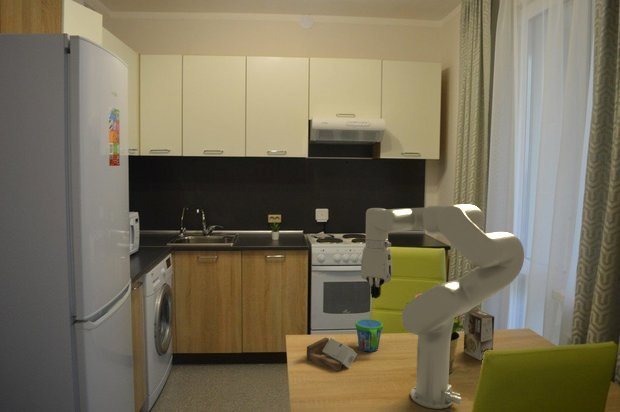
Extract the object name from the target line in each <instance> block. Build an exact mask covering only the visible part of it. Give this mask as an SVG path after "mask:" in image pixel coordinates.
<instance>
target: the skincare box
mask: <svg viewBox="0 0 620 412" xmlns="http://www.w3.org/2000/svg"><path fill="white" fill-rule="evenodd" d="M322 352H323V353H324V354H325V357H326V358H329V359H332V360H335V361H338V362H341V366H343V367H345V368H347V369H349V368H350V367H351V366H352V364H353V363H354V362H355V361H354V359H355V357H356V358H357V356H358V353H356V352H355V350H354V349H353V348H351V347H350V346H347V345H346V344H344V343H341V342H339V341H337V340H336V339H333V338H331V337H330V338H329V341H328V343H327V344H326V346H325V347H324V349H323V350H322ZM324 354H323V355H324ZM353 361H354V362H353Z"/></svg>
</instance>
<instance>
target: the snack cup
mask: <svg viewBox="0 0 620 412" xmlns="http://www.w3.org/2000/svg"><path fill="white" fill-rule="evenodd" d="M383 325H384V324H383V322H382V321H380V320H377V319H372V318H365V319H359V320H356V321H355V329H356V334H357V343H358V348H359V349H360V350H361V351H365V352H370V353H373V352H376V351H377V350H379V347H380V339H381V336H382V330H383V328H384V326H383Z"/></svg>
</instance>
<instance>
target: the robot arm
mask: <svg viewBox="0 0 620 412" xmlns="http://www.w3.org/2000/svg"><path fill="white" fill-rule="evenodd" d="M484 223H485V217H484V212H483V211H482V209H480V208H479V207H477V206H476V205H474V204H468V203H465V204H464V203H463V204H461V203H460V204H459V203H458V204H445V205H444V204H441V205H439V204H438V205H437V204H436V205H428V206H427V207H411V208H408V207H405V208H391V209H388V208H387V209H386V208H382V207H371V208H368V209H367V210H366V211H365V245H364V247H363V250H362V255H361V262H360V264H361V265H360V273H361V279H363V280H365V281H367V283H368V284H369V286H370V295H371V298H372V299H378V298H379V297H380V296H381V293H382V290H381V289H382V286H383V285H384V284H386V283H387V284H388V283H391V282H392V279H391V278H392V276H393V259H392V253H391V249H390V248H389V247H392V242H390V241H389V234H390V233H400V232H408V231H425V232H427V233H428V234H429V235H430V234H432V235H442V236H443V237H444V238H445V239H446V240H447V241H448V242H449V243H450V244H451V245H452V246H453V247H454V248H455V249H456V250H457V251H458V252H459V253H460V254H461V255H462V256H463V257H464V258H465V259H466V260H467V261H468V262H469V263H471V264H472V265H474V266H476V267H475V268H473V269H471V270H470V271H468V272H467V273H465V274H464V275H462V276H461V277H459V278H457V279H455V280H450V281H445V282H442V283H439V284H436V285H433V286H432V287H430V288H429V289H427V290H426V291H424V292H422V293H421V294H420V295H418V296H417V297H415V298H414V299H412V300H411V301H410V302H408V303H407V304H406V305H405V306H404V308H403V309H402V313H401V324H402V326H403V327H404V329H405V330H406V331H407V332H408V333H410V334H411V335H415V336H418V337H417V347H416V348H417V349H416V351H417V352H416V371H415V373H416V374H415V375H416V376H415V377H416V378H415V386H414V387H412V389H410V393H409V395H410V398H411V399H412V400H413V401H414V402H415V403H416V404H417V405H420V406H421V407H425V408H429V409H435V410H440V409H447V408H449V407H451V406H452V405H453V404H454V403H455V404H458V405H462V401H463V398H462V397H461V393H460V392H459V393H458V392H455V391H453V389H452V385H451V384H449V382H450V381H449V379H450V377H449V376H450V373H449V372H450V356H451V353H450V352H451V340H452V332H453V327H454V323H455V319H456V318H457V317H460V316H462V315H465V313H467V312H469V311H472V310H474V308H475V307H478V306H479V305H481V304H482V303H483V302H485V301H487V300H489V299H490V298H491V297H493V296H494V295H496V294H498V293H500V292H501V291H502V290H504V289H505V288H506V287H508V286H509V285H510V284H512V283H513V282H514V281H515V279H516V278H517V277H518V276H519V274H520V273H521V271H522V269H523V266H524V262H525V250H524V247H523V244H522V242H521V240H520V239H519V237H518V236H516V235H514V234H513V233H511V232H505V231H495V232H488V233H485V232H484V231H483V230H482V227H483V226H484Z"/></svg>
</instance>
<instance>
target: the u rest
mask: <svg viewBox="0 0 620 412" xmlns="http://www.w3.org/2000/svg"><path fill="white" fill-rule="evenodd" d="M329 340H330V338H329V337H324V338H322V339H319V340H318V341H316V342H313V343H311V344H310V345H307V346H306V361H308V362H311V363H314V364H317V365H320V366H322V367H325V368H328V369H331V370H333V371H335V372H336V371H337V372H340V371H341V370H342V365H341V362H338V361H335V360H332V359H331V358H329V357H327V356H323V355H324V353H323V352H322V350H323V349H324V347H325V346H326V344H327V343H328V341H329ZM355 361H357V356H356V357H355V359H354V361H353V362H352V363H354V362H355Z"/></svg>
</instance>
